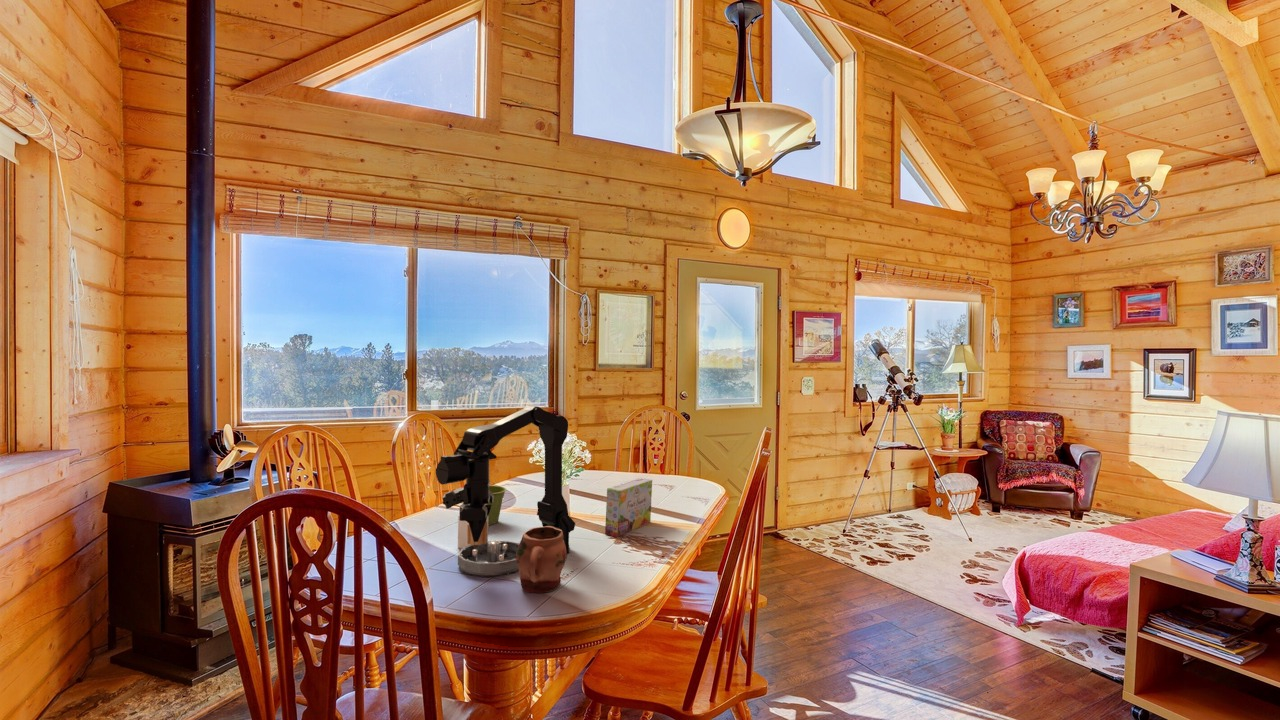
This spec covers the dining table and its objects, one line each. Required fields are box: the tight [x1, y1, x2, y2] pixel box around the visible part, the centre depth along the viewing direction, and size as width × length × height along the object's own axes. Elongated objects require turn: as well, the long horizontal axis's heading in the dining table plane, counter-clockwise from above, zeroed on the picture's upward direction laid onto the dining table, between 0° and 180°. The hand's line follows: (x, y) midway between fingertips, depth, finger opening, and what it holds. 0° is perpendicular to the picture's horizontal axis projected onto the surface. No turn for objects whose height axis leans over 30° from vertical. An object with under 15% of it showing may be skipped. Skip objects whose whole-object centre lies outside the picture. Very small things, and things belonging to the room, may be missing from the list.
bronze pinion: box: [467, 521, 487, 545], centre depth 152 cm, size 5×5×5 cm
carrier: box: [457, 540, 520, 578], centre depth 160 cm, size 18×18×6 cm
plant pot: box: [488, 484, 507, 526], centre depth 199 cm, size 12×12×11 cm
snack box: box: [604, 477, 653, 538], centre depth 197 cm, size 21×6×15 cm, turn 150°
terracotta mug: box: [516, 526, 568, 594], centre depth 145 cm, size 20×12×14 cm, turn 2°
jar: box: [457, 503, 489, 550], centre depth 175 cm, size 9×8×12 cm
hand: (477, 538), depth 153 cm, fingers closed on bronze pinion, 5 cm apart
